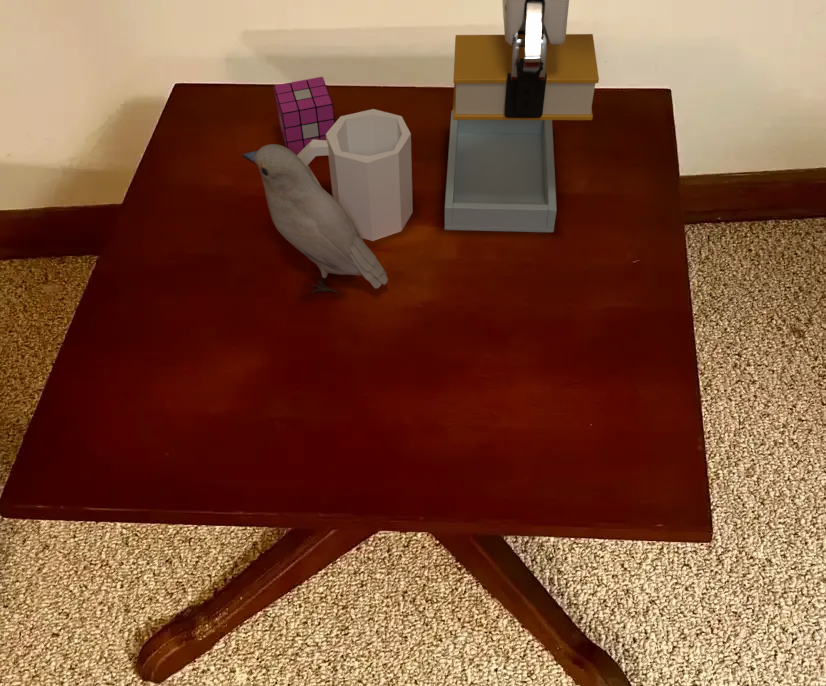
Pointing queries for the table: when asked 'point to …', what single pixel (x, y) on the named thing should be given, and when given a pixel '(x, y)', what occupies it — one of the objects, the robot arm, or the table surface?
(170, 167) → the table surface
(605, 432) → the table surface
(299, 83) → the puzzle toy
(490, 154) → the tray
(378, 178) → the mug
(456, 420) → the table surface
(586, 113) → the book
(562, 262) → the table surface
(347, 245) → the bird
